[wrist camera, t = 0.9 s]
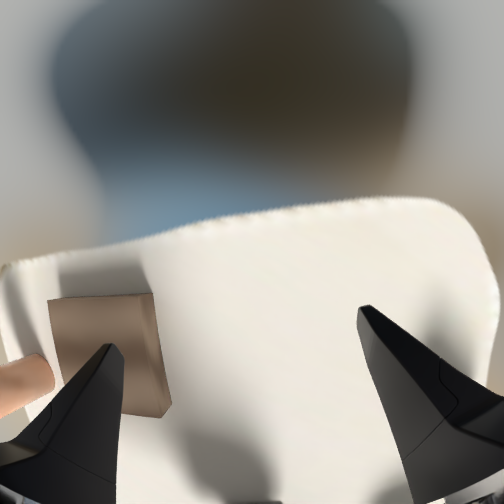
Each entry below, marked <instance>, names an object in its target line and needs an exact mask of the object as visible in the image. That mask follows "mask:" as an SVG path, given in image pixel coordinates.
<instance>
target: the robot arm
mask: <svg viewBox="0 0 504 504" xmlns="http://www.w3.org/2000/svg"><path fill="white" fill-rule="evenodd" d="M357 330H358V333H359V337H360V341H361V344H362V348H363V351H364V355H365V359H366V362H367V366H368V369H369V371H370V374H371V376H372V379H373V382H374V384H375V387H376V389H377V392H378V395H379V397H380V400H381V403H382V405H383V408H384V411H385V413H386V416H387V419H388V422H389V425H390V427H391V430H392V433H393V436H394V439H395V442H396V445H397V448H398V451H399V454H400V457H401V460H402V464H403V467H404V470H405V474H406V477H407V480H408V484H409V487H410V490H411V494H412V498H413V501H414V504H427V503H430V502H433V501H436V500H438V499H441V498H444V500H445V503H444V504H504V397H503V396H500V395H498V394H495V393H494V392H492V391H490V390H488V389H487V388H485V387H484V386H482V385H480V384H479V383H477V382H476V381H474V380H472V379H471V378H469V377H467V376H466V375H464V374H463V373H461V372H460V371H458V370H457V369H456V368H454V367H453V366H451V365H450V364H449V363H447V362H446V361H445V360H444V359H442V358H440V357H439V356H438V355H437V354H436V353H434V352H433V351H432V350H430V349H429V348H428V347H426V346H425V345H424V344H422V343H421V342H420V341H418V340H417V339H416V338H415V337H413V336H412V335H411V334H409V333H408V332H407V331H405V330H404V329H403V328H401V327H400V326H398V325H397V324H396V323H394V322H393V321H392V320H390V319H389V318H388V317H386V316H385V315H384V314H382V313H381V312H380V311H378V310H377V309H375V308H374V307H373V306H371V305H365V306H360V307H359V308H358V314H357ZM124 366H125V359H124V356H123V354H122V353H121V352H120V350H119V349H118V347H117V346H116V345H115V344H114V343H104V344H103V345H102V346H101V347H100V348H99V349H98V350H97V351H96V352H95V353H94V354H93V356H92V357H91V358H90V359H89V360H88V361H87V362H86V363H85V364H84V365H83V366H82V367H81V368H80V369H79V371H78V372H77V373H76V374H75V375H74V376H73V377H72V378H71V379H70V380H69V381H68V383H67V384H66V385H65V386H64V387H63V388H62V389H61V390H60V391H59V393H58V394H57V395H56V396H55V397H54V398H53V399H52V401H51V402H50V403H49V404H48V405H47V406H46V407H45V408H44V409H43V411H42V412H41V413H40V414H39V415H38V416H37V417H36V418H35V419H34V420H33V421H32V422H31V423H30V424H29V425H28V426H27V427H26V428H25V429H24V430H23V431H22V432H21V433H20V434H19V435H18V436H17V437H16V438H14V439H13V440H11V441H8V442H4V443H0V504H116V472H117V454H118V440H119V429H120V419H121V410H122V402H123V390H124Z"/></svg>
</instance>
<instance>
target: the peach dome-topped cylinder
mask: <svg viewBox="0 0 504 504" xmlns="http://www.w3.org/2000/svg"><path fill="white" fill-rule="evenodd" d="M54 387H55V379H54V375H53V372H52V370H51V368H50V366H49V364H48V363H47V361H46V360H45V359H44V358H43V357H42V356H40V355H38V354H32V355H29V356H26V357H23V358H21V359H18V360H15V361H12V362H9V363H6V364H3V365H0V419H1V418H3V417H4V416H6V415H8V414H10V413H12V412H14V411H16V410H18V409H20V408H21V407H24V406H25V405H27V404H29V403H31V402H33V401H35V400H37V399H39V398H40V397H42V396H44V395H46V394H48V393H50V392H52V391H53V390H54Z"/></svg>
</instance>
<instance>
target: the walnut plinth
mask: <svg viewBox="0 0 504 504" xmlns="http://www.w3.org/2000/svg"><path fill="white" fill-rule="evenodd" d="M47 303H48V310H49V316H50V323H51V328H52V334H53V339H54V344H55V349H56V353H57V358H58V362H59V366H60V370H61V374H62V377H63V381H64V384H65V385H66V384H67V383H68V381H69V380H70V379H71V378H72V377H73V376H74V375H75V374H76V373H77V372H78V371H79V369H80V368H81V367H82V366H83V365H84V364H85V363H86V362H87V361H88V360H89V359H90V358H91V357H92V356H93V354H94V353H95V352H96V351H97V350H98V349H99V348H100V347H101V346H102V345H103V344H104V343H114V344H115V345H116V346H117V347H118V349H119V350H120V352H121V353H122V354H123V356H124V359H125V366H124V390H123V402H122V410H121V413H122V414H129V415H136V416H144V417H153V418H162V416H163V415H164V414H165V412H166V411H167V410H168V408H169V407H170V406H171V405H172V402H171V398H170V393H169V389H168V384H167V379H166V374H165V369H164V364H163V358H162V353H161V347H160V341H159V335H158V329H157V322H156V315H155V308H154V300H153V293H145V294H129V295H111V296H91V297H67V298H59V299H53V300H47Z"/></svg>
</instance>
